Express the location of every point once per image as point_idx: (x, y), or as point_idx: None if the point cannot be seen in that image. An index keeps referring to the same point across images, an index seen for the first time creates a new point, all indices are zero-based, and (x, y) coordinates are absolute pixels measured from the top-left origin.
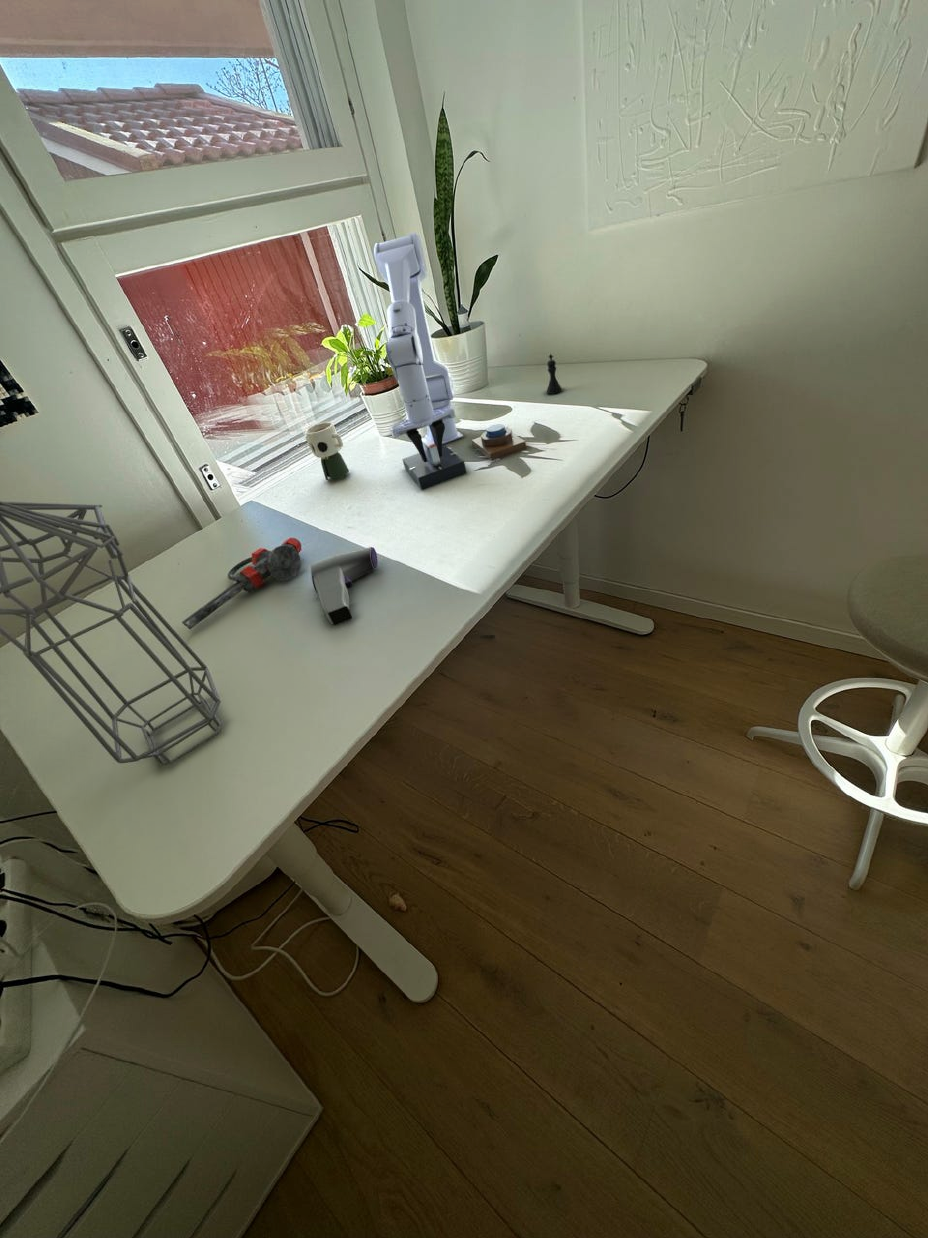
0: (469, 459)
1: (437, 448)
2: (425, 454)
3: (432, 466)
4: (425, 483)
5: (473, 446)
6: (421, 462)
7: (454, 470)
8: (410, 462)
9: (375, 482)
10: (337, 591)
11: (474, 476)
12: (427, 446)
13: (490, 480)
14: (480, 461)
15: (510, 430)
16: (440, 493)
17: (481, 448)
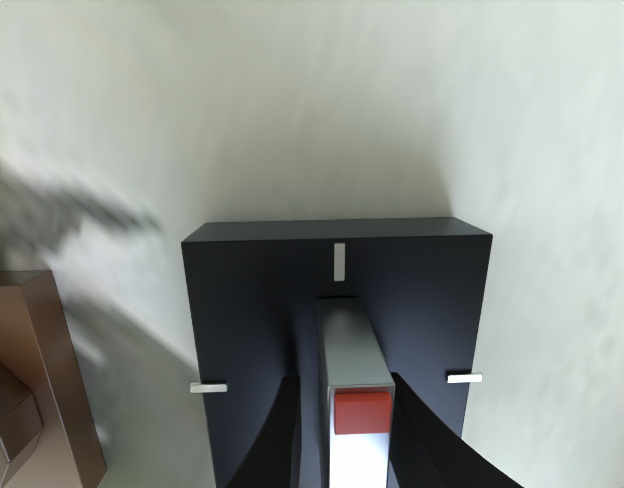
0: (152, 364)
1: (297, 427)
2: (399, 401)
3: None
4: (438, 223)
5: (103, 466)
6: None
7: (260, 230)
8: None
9: (562, 441)
10: None
11: (177, 159)
12: (390, 437)
13: (105, 26)
14: (107, 306)
15: None
16: (396, 100)
17: (60, 393)
